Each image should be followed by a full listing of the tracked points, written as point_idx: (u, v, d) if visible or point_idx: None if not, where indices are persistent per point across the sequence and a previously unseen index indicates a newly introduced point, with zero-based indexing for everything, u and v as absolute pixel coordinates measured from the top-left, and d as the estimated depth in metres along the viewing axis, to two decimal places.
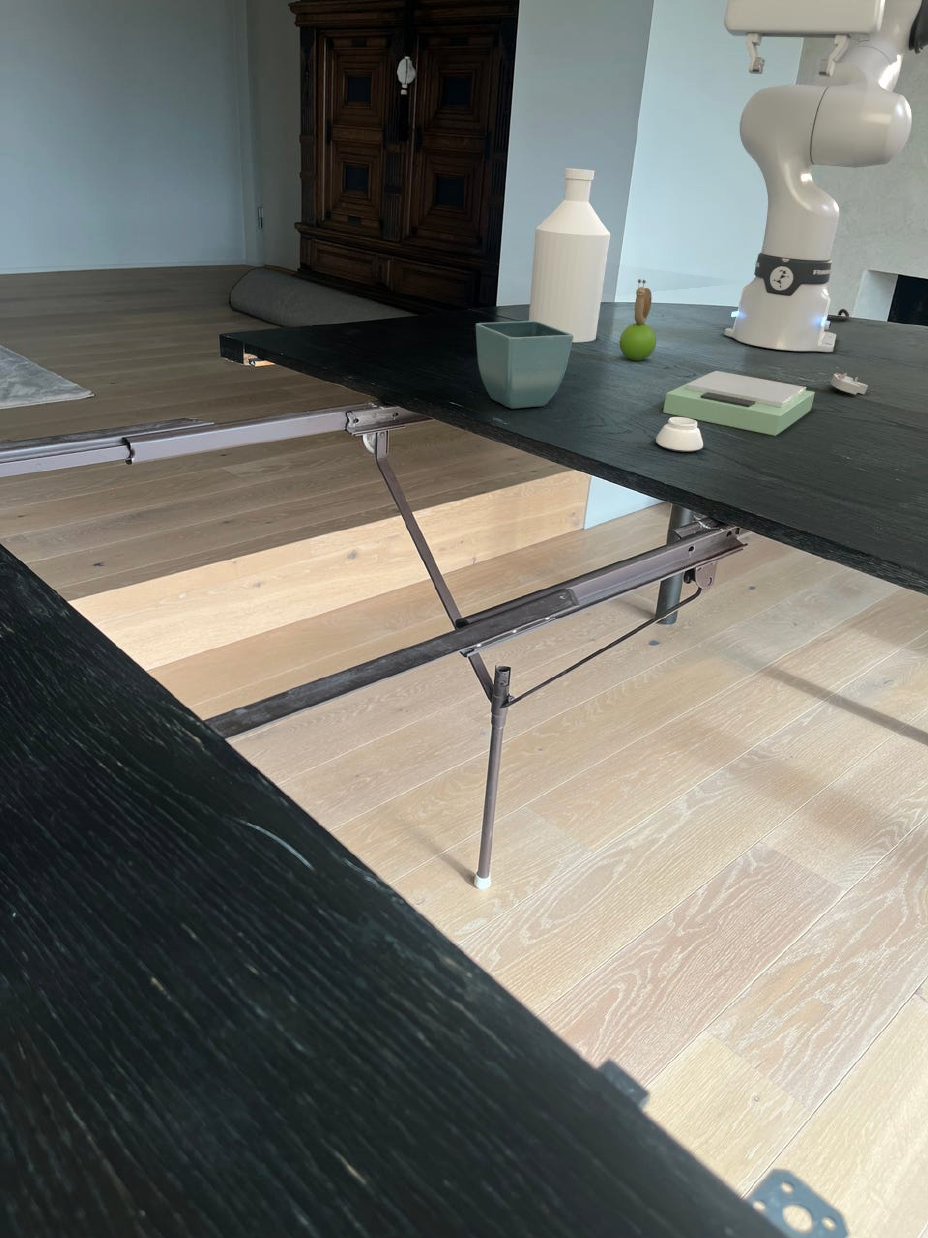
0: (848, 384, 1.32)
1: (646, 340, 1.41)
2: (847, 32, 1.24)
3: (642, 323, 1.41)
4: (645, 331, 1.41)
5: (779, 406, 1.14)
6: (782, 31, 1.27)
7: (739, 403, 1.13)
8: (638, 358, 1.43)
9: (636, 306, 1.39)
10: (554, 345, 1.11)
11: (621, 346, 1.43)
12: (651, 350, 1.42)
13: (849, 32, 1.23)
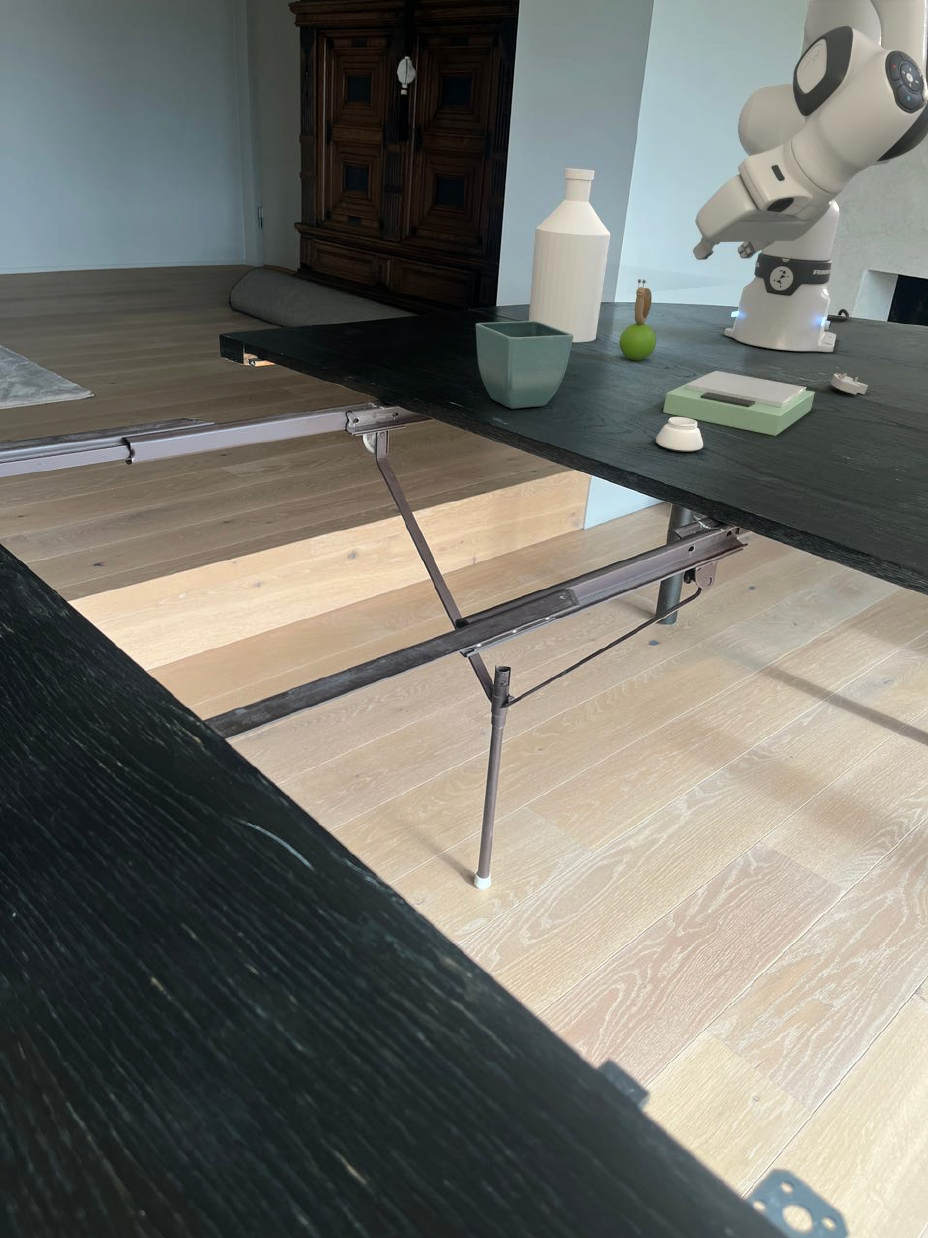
0: (848, 384, 1.32)
1: (646, 340, 1.41)
2: (781, 240, 1.28)
3: (642, 323, 1.41)
4: (645, 331, 1.41)
5: (779, 406, 1.14)
6: None
7: (739, 403, 1.13)
8: (638, 358, 1.43)
9: (636, 306, 1.39)
10: (554, 345, 1.11)
11: (621, 346, 1.43)
12: (651, 350, 1.42)
13: None
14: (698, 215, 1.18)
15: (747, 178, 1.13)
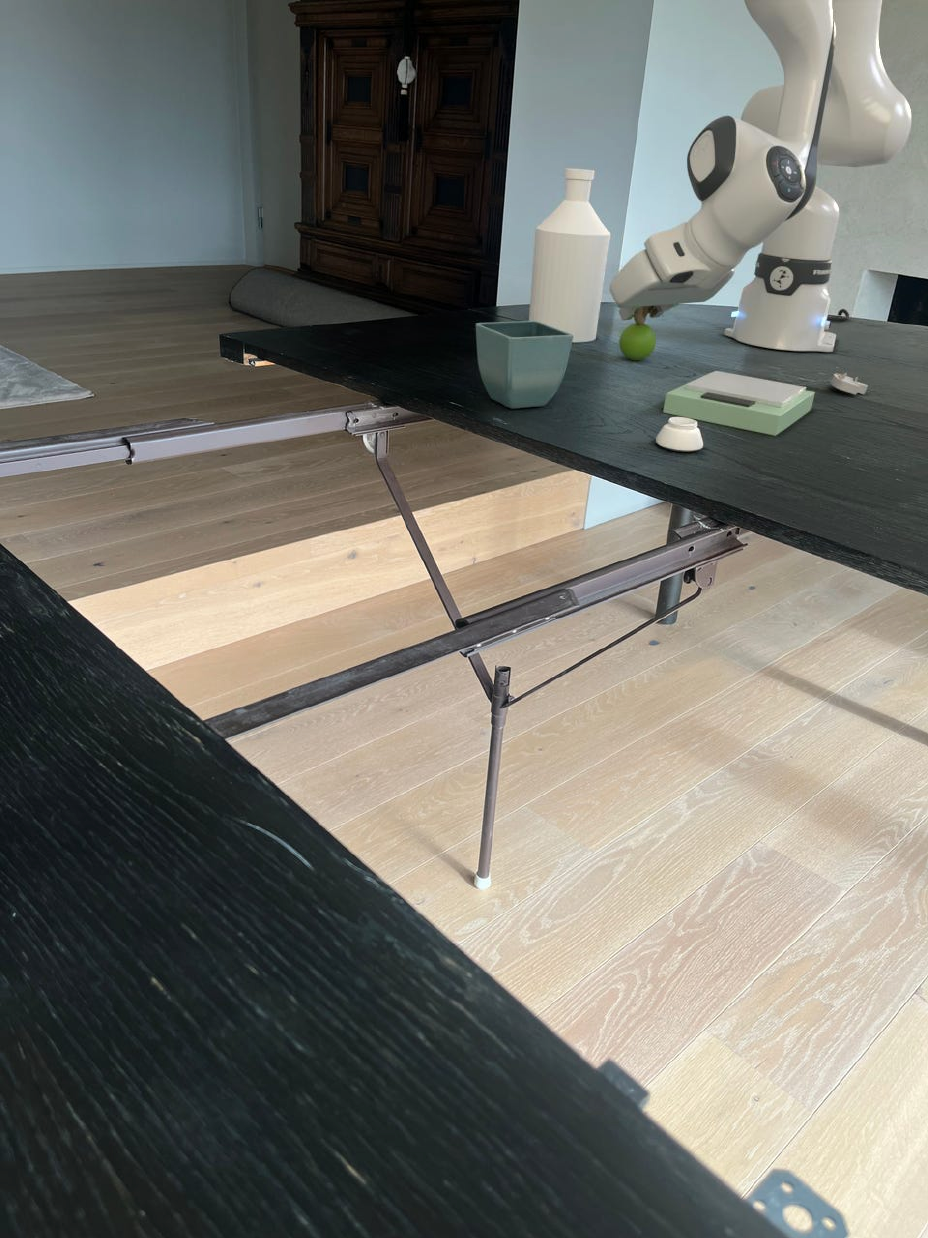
0: (848, 384, 1.32)
1: (646, 340, 1.41)
2: (692, 302, 1.42)
3: (641, 323, 1.41)
4: (645, 330, 1.41)
5: (779, 406, 1.14)
6: (654, 304, 1.37)
7: (739, 403, 1.13)
8: (638, 358, 1.43)
9: None
10: (554, 345, 1.11)
11: (621, 346, 1.43)
12: (651, 350, 1.42)
13: (694, 302, 1.42)
14: (611, 284, 1.32)
15: (651, 254, 1.27)
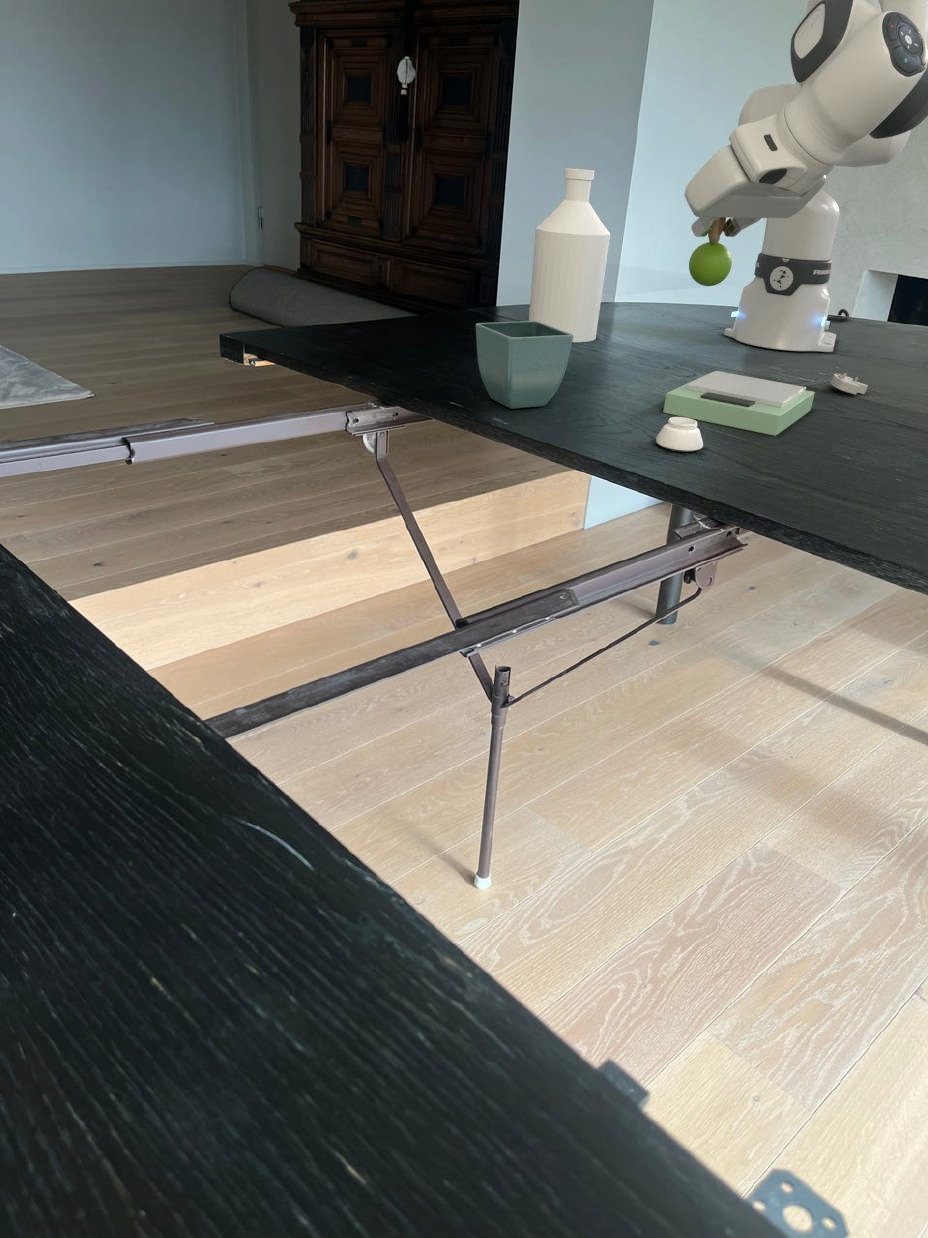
0: (848, 384, 1.32)
1: (721, 261, 1.22)
2: (775, 218, 1.23)
3: (716, 241, 1.23)
4: (720, 250, 1.22)
5: (779, 406, 1.14)
6: (734, 217, 1.18)
7: (739, 403, 1.13)
8: (711, 282, 1.24)
9: None
10: (554, 345, 1.11)
11: (691, 269, 1.24)
12: (726, 273, 1.24)
13: (776, 218, 1.23)
14: (687, 188, 1.13)
15: (738, 148, 1.08)
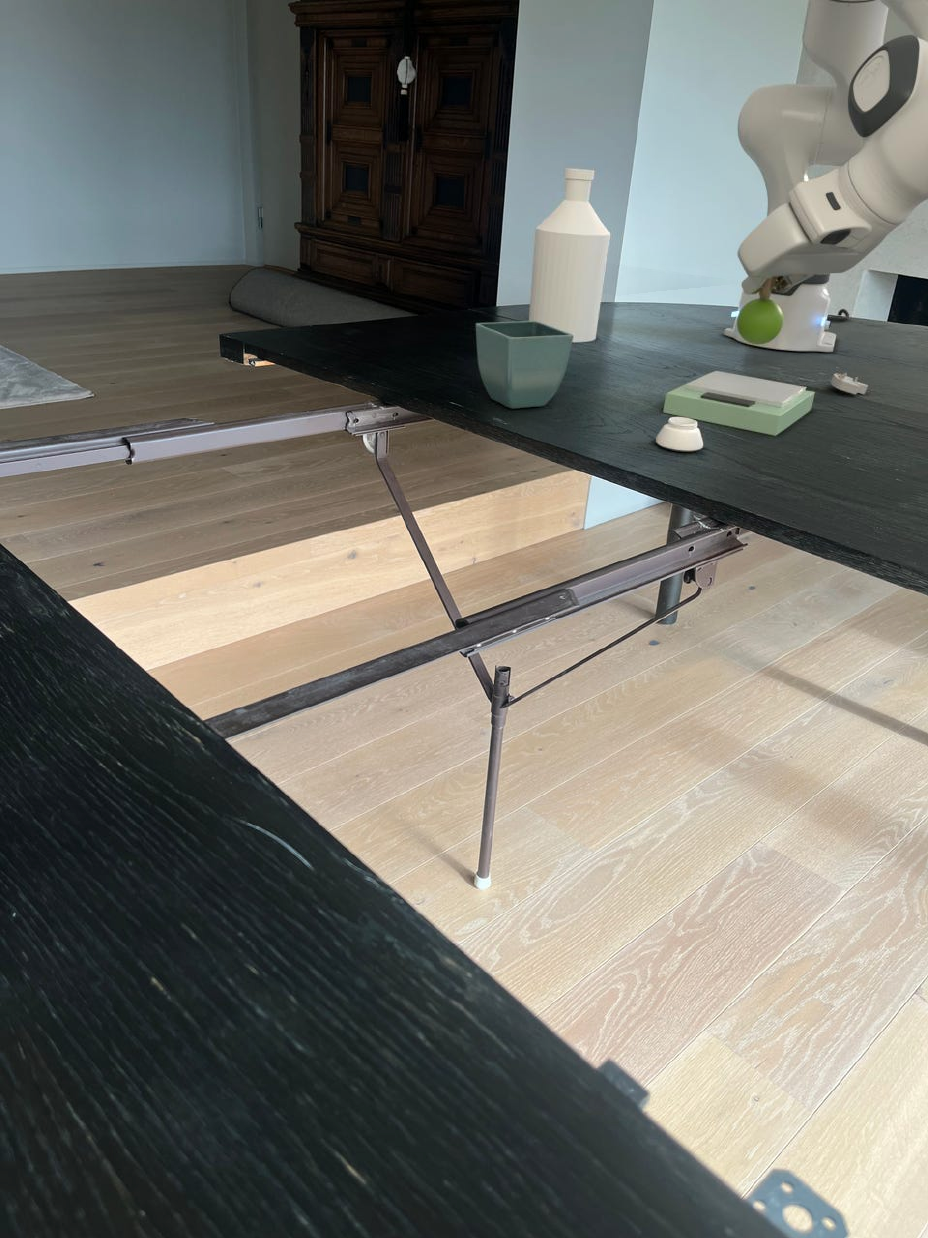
0: (848, 384, 1.32)
1: (773, 319, 1.15)
2: None
3: (767, 298, 1.15)
4: (772, 307, 1.15)
5: (779, 406, 1.14)
6: None
7: (739, 403, 1.13)
8: (761, 341, 1.17)
9: None
10: (554, 345, 1.11)
11: (740, 327, 1.17)
12: (778, 331, 1.16)
13: None
14: (741, 247, 1.05)
15: (798, 207, 1.00)
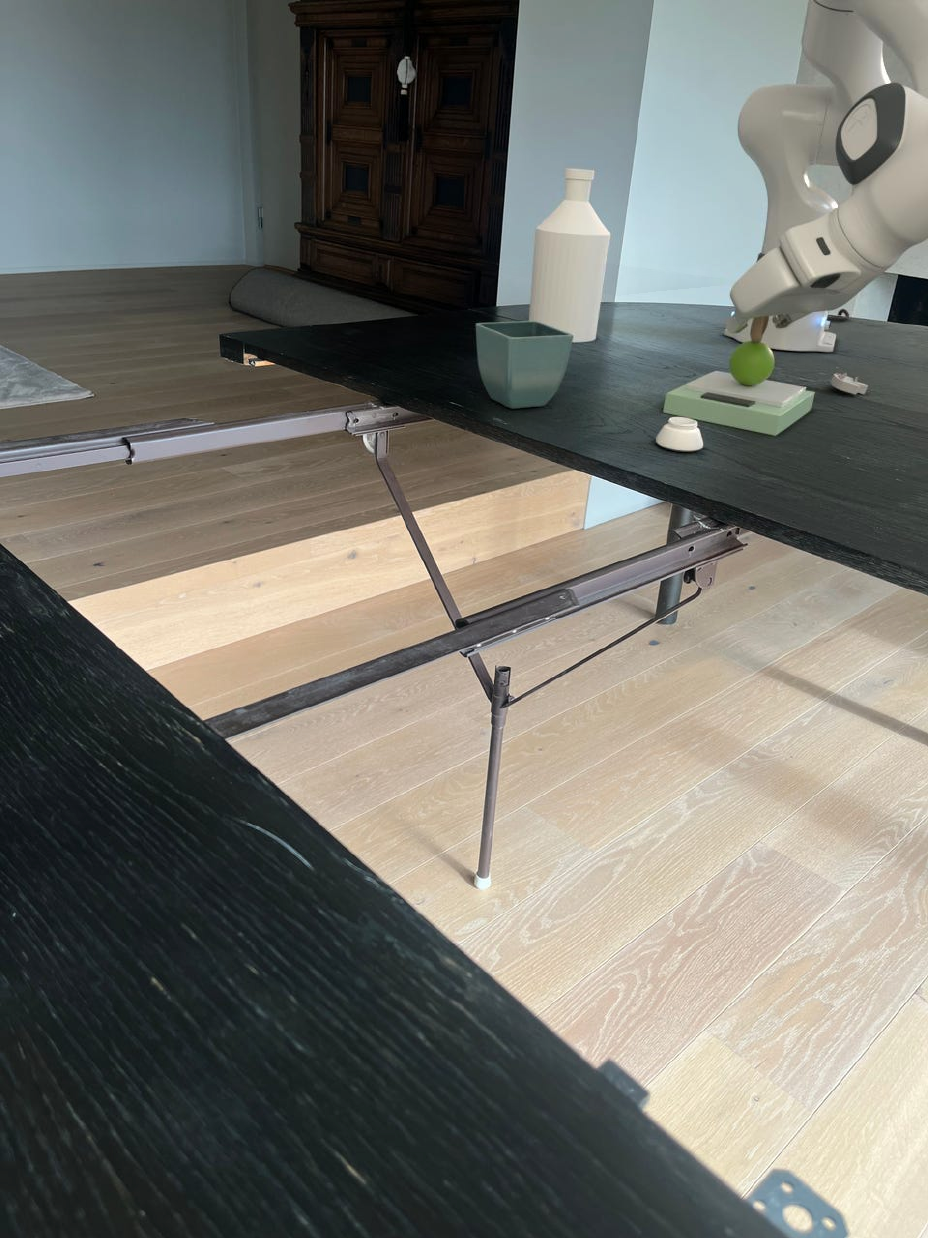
0: (848, 384, 1.32)
1: (764, 362, 1.17)
2: None
3: (759, 341, 1.17)
4: (763, 350, 1.17)
5: (779, 406, 1.14)
6: None
7: (739, 403, 1.13)
8: (753, 383, 1.19)
9: (755, 321, 1.15)
10: (554, 345, 1.11)
11: (732, 369, 1.19)
12: (769, 373, 1.18)
13: (822, 310, 1.18)
14: (733, 289, 1.07)
15: (789, 252, 1.02)
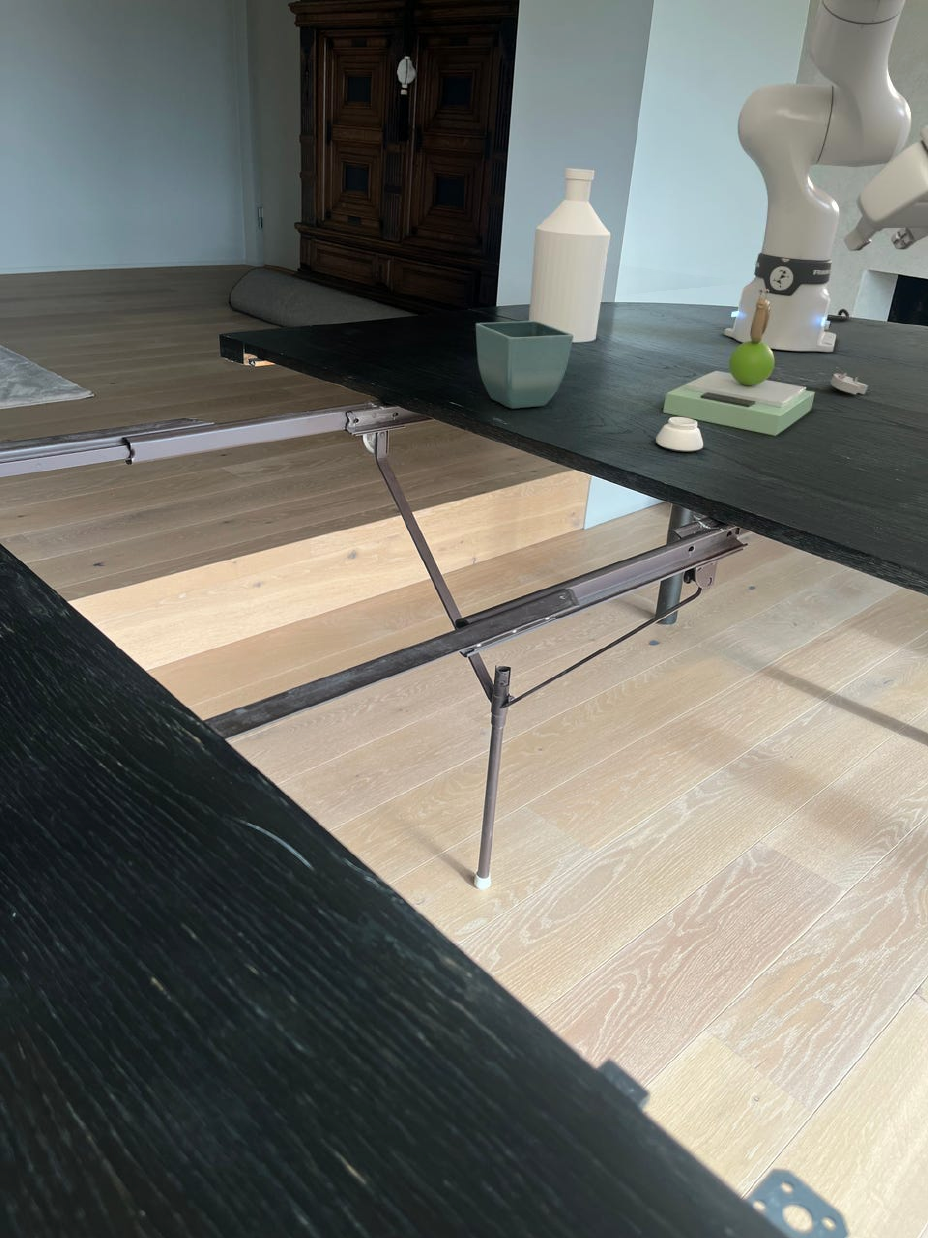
0: (848, 384, 1.32)
1: (764, 362, 1.17)
2: None
3: (759, 341, 1.17)
4: (763, 350, 1.17)
5: (779, 406, 1.14)
6: None
7: (739, 403, 1.13)
8: (753, 383, 1.19)
9: (755, 321, 1.15)
10: (554, 345, 1.11)
11: (732, 369, 1.19)
12: (769, 373, 1.18)
13: None
14: (862, 194, 0.94)
15: None
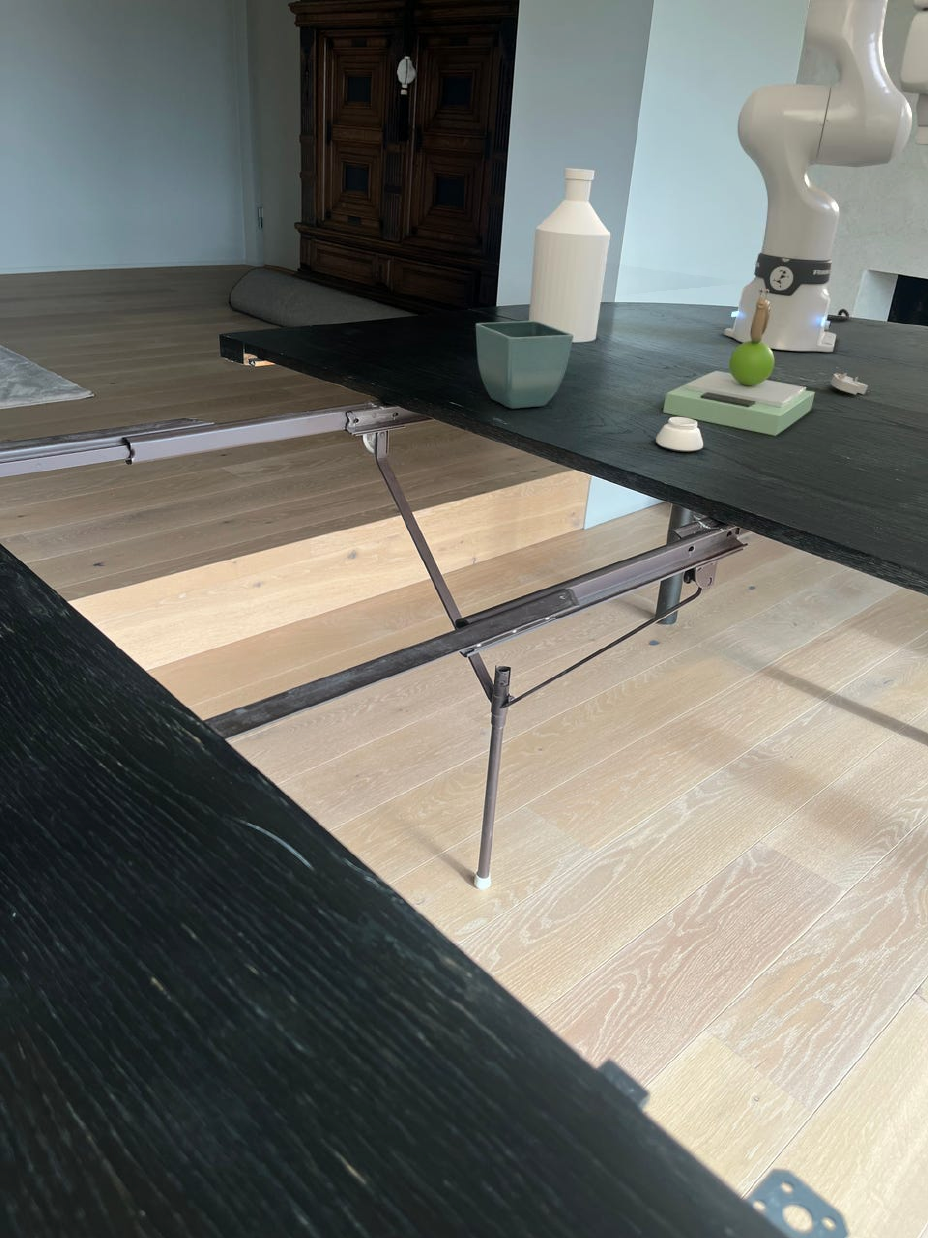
0: (848, 384, 1.32)
1: (764, 362, 1.17)
2: None
3: (759, 341, 1.17)
4: (763, 350, 1.17)
5: (779, 406, 1.14)
6: None
7: (739, 403, 1.13)
8: (753, 383, 1.19)
9: (755, 321, 1.15)
10: (554, 345, 1.11)
11: (732, 369, 1.19)
12: (769, 373, 1.18)
13: None
14: (902, 76, 0.98)
15: None
